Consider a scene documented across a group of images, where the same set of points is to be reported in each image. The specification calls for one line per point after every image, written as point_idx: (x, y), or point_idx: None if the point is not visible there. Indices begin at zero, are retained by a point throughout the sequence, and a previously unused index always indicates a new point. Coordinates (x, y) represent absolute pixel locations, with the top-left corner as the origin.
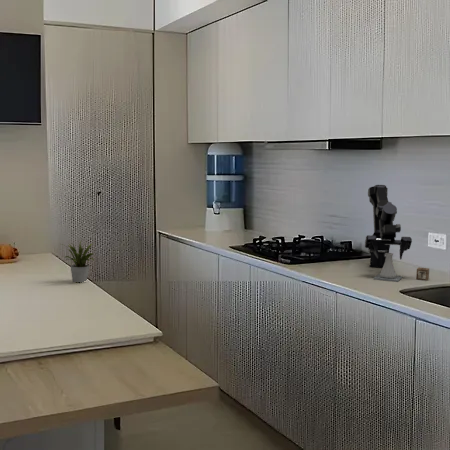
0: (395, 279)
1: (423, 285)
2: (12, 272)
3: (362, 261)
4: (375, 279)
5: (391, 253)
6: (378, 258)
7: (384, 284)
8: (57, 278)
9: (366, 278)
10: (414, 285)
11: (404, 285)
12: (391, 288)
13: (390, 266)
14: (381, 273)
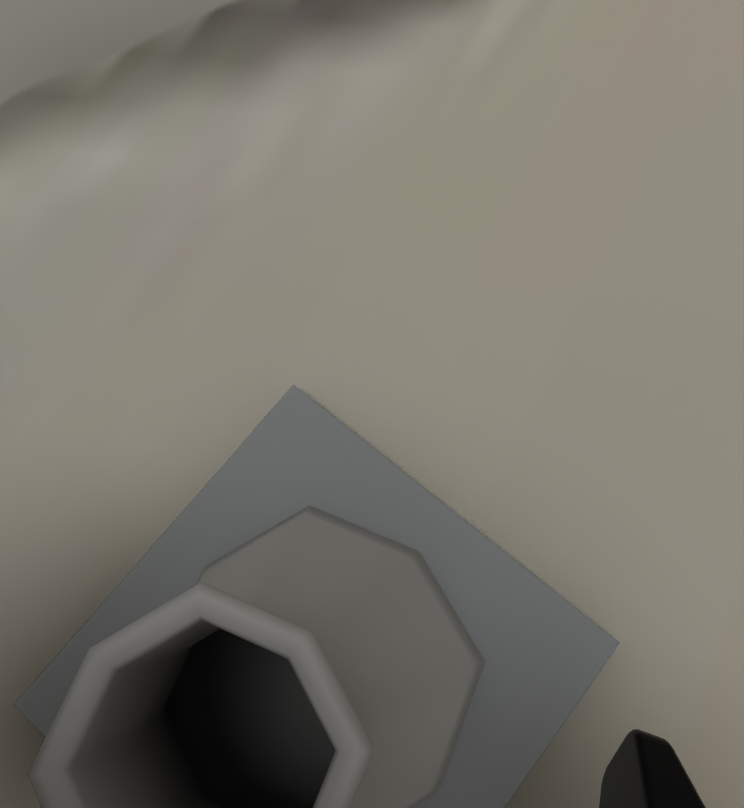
0: (293, 459)
1: (76, 145)
2: None
3: None
4: (583, 616)
5: (74, 796)
6: (623, 757)
7: (592, 253)
8: None
9: (710, 742)
10: (197, 156)
11: (334, 169)
12: (603, 32)
13: (299, 574)
14: (463, 663)
